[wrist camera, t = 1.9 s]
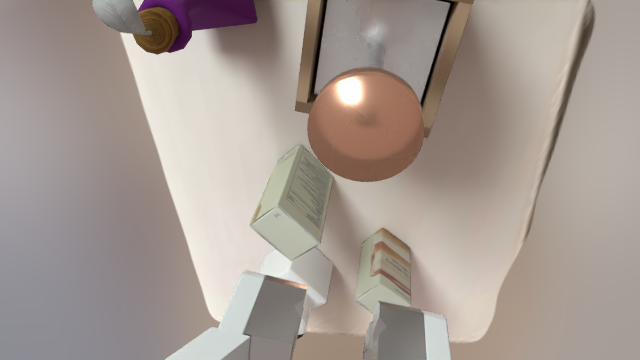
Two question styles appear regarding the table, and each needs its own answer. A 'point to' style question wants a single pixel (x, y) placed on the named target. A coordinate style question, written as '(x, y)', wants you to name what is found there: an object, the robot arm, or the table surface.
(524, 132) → the table surface
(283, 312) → the robot arm
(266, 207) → the skincare box
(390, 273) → the skincare box
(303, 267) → the medicine bottle
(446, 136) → the table surface
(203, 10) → the perfume bottle
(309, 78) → the wooden box
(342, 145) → the table lamp
